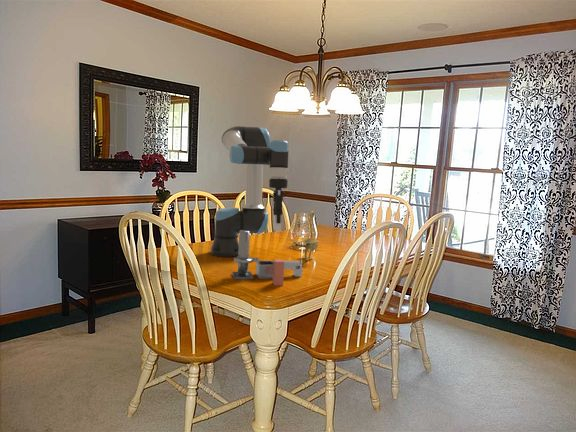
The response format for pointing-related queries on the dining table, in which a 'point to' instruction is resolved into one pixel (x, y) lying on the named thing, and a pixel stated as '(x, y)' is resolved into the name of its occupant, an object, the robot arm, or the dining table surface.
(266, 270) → the bracket
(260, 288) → the dining table surface
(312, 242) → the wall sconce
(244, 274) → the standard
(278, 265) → the wedge pin
